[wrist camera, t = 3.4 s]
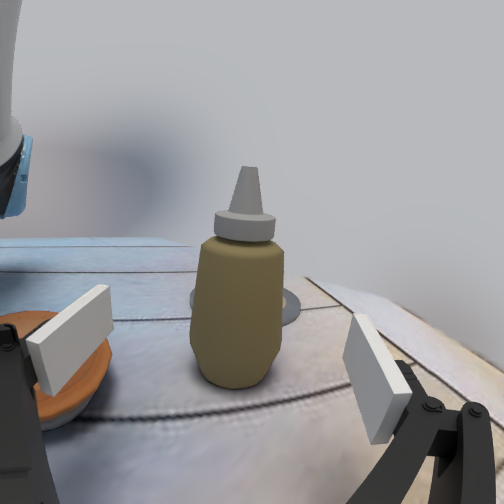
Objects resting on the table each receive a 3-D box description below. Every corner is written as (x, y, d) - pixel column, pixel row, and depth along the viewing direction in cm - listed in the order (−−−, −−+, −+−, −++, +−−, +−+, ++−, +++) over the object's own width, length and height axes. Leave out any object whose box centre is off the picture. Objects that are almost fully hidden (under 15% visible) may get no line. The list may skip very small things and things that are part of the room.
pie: (151, 378, 25) (147, 330, 24) (31, 490, 11) (-2, 441, 9) (45, 328, 29) (38, 287, 28) (-58, 384, 15) (-77, 338, 14)
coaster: (172, 291, 44) (172, 286, 44) (255, 278, 53) (255, 273, 53) (228, 342, 33) (229, 334, 32) (322, 313, 42) (323, 307, 41)
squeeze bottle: (235, 340, 33) (249, 167, 29) (294, 374, 28) (324, 174, 23) (172, 364, 27) (174, 162, 23) (230, 412, 22) (250, 166, 18)
